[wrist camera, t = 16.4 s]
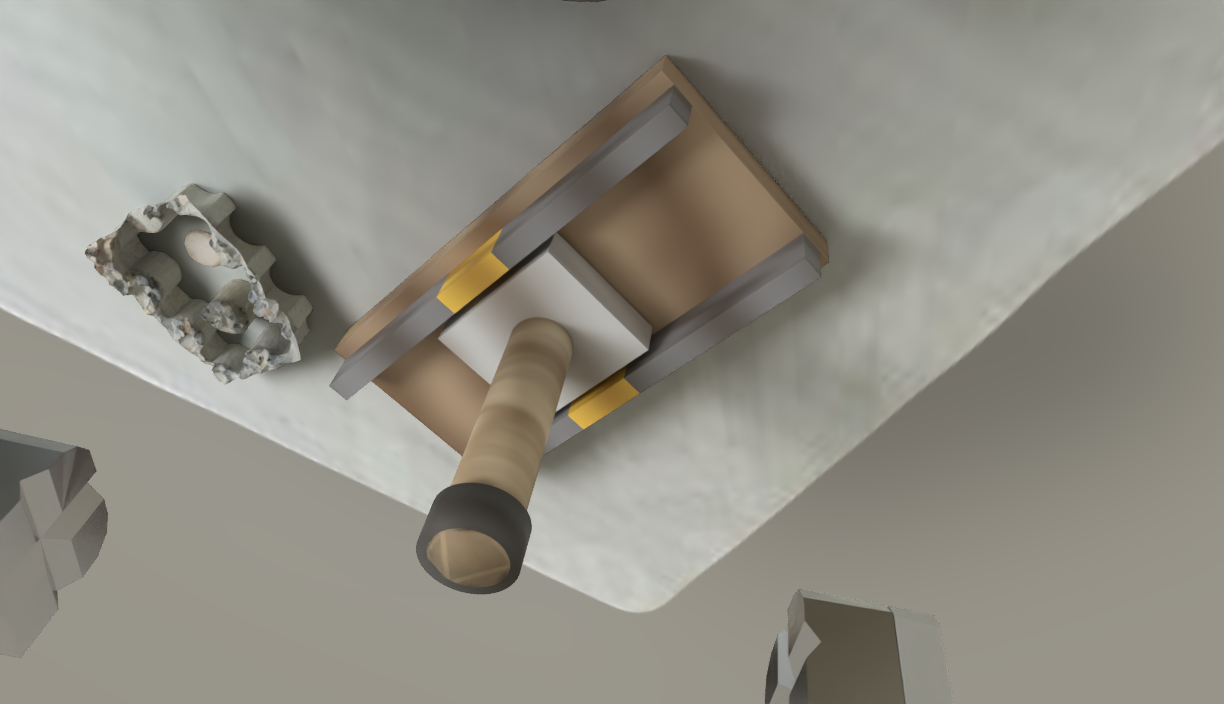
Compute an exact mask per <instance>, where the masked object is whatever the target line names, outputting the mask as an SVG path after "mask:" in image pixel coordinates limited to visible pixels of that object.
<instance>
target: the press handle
mask: <svg viewBox="0 0 1224 704" xmlns="http://www.w3.org/2000/svg"><path fill="white" fill-rule="evenodd" d="M651 333H652V326H651V325H650V324H649V323H648V322H647V321H646V320H645V319H644V318H643V317H642V316H641V315H640V314H639V313H638V312H637V311H636V310H635V309H634V308H633V307H632V306H631V305H630V304H629V303H628V302H627V301H626V300H625V299H624V298H623V297H622V296H621V295H620V294H619V293H618V292H617V291H616V290H615V289H614V288H613V287H612V286H611V285H610V284H609V283H608V282H607V281H606V280H605V279H604V278H603V277H602V276H601V275H600V274H599V273H598V272H597V271H596V270H595V269H594V268H593V267H592V266H590V265H589V264H588V263H587V262H586V261H585V260H584V259H583V258H582V257H581V256H580V255H579V254H578V253H577V252H576V251H575V250H574V249H573V248H572V247H571V246H570V245H569V244H568V243H567V242H566V241H565V240H564V239H563V238H562V237H561V236H560V235H559V234H558V233H557V232H556V233H555V234H553V235H552V236H551V237H550V238H548V239H547V240H546V241H545V242H543V243H542V244H541V245H540V246H538V247H537V248H536V249H535V250H533V251H532V252H531V253H530V254H528V255H527V256H526V257H525V258H523V259H522V260H521V261H520V262H518V263H517V264H516V265H515V266H513V267H512V268H511V269H510V270H508V271H507V272H506V273H505V274H504V275H502V276H501V277H500V278H499V279H497V280H496V281H495V282H494V283H492V284H491V285H490V286H489V287H487V288H486V289H485V290H484V291H482V292H481V293H480V294H479V295H477V296H476V297H475V298H474V299H472V300H471V301H470V302H469V303H467V304H466V305H465V306H464V307H462V308H461V309H460V310H459V311H457V312H456V313H455V314H454V315H452V316H451V317H450V318H449V319H448V320H447V322H446V324H445V326H444V328H443V330H442V332H441V334H440V336H439V338H438V339H439V340H440V341H441V342H442V343H443V344H444V345H446V346H447V347H448V348H449V349H450V350H451V351H452V352H453V353H455V354H456V355H457V356H458V357H459V358H460V359H461V360H463V361H464V362H465V363H466V364H467V365H468V366H469V367H471V368H472V369H473V370H474V371H475V372H476V373H477V374H479V375H480V376H481V377H482V378H483V379H484V380H485V381H487V382H488V383H489V384H490V385H491V386H490V388H489V391H488V393H487V396H486V398H485V401H484V403H483V406H482V408H481V411H480V413H479V416H478V418H477V421H476V424H475V426H474V429H473V431H472V434H471V436H470V439H469V441H468V444H467V446H466V449H465V451H464V454H463V456H462V459H461V462H460V464H459V467H458V469H457V472H456V474H455V477H454V479H453V482H452V484H451V486H450V487H447V488H446V489H444V490H443V491H441V492H440V493H439V494H438V495H437V496H436V498H435V500H434V502H433V504H432V507H431V509H430V512H429V514H428V516H427V519H426V522H425V524H424V526H423V529H422V531H421V534H420V536H419V539H418V541H417V545H416V552H417V557H418V559H419V562H420V563H421V565H422V567H423V568H424V569H425V571H426V572H427V573H428V574H429V575H431V576H432V577H433V578H434V579H435V580H437V581H438V582H440V583H442V584H443V585H445V586H447V587H450V588H452V589H455V590H458V591H461V592H465V593H471V594H491V593H496V592H499V591H502V590H504V589H506V588H508V587H509V586H511V585H512V584H513V583H514V582H515V581H516V580H517V578H518V576H519V574H520V570H521V566H522V563H523V559H524V556H525V552H526V549H527V545H528V541H529V538H530V534H531V529H532V525H531V519H530V516H529V514H528V512H527V508H528V505H529V501H530V498H531V494H532V491H533V488H534V484H535V481H536V477H537V474H538V470H539V467H540V464H541V460H542V457H543V453H544V450H545V446H546V443H547V440H548V436H549V433H550V429H551V426H552V422H553V419H554V416H555V412H556V411H558V410H559V409H561V408H562V407H564V406H565V405H567V404H568V403H570V402H571V401H573V400H574V399H576V398H577V397H579V396H580V395H582V394H583V393H585V392H586V391H588V390H589V389H591V388H592V387H594V386H595V385H597V384H598V383H600V382H601V381H603V380H604V379H606V378H607V377H609V376H610V375H612V374H613V373H615V372H616V371H618V370H619V369H621V368H622V367H624V366H625V365H627V364H628V363H630V362H631V361H633V360H634V359H636V358H637V357H639V356H640V355H642V354H643V353H645V352H646V351H648V350H649V344H650V338H651Z"/></svg>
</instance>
